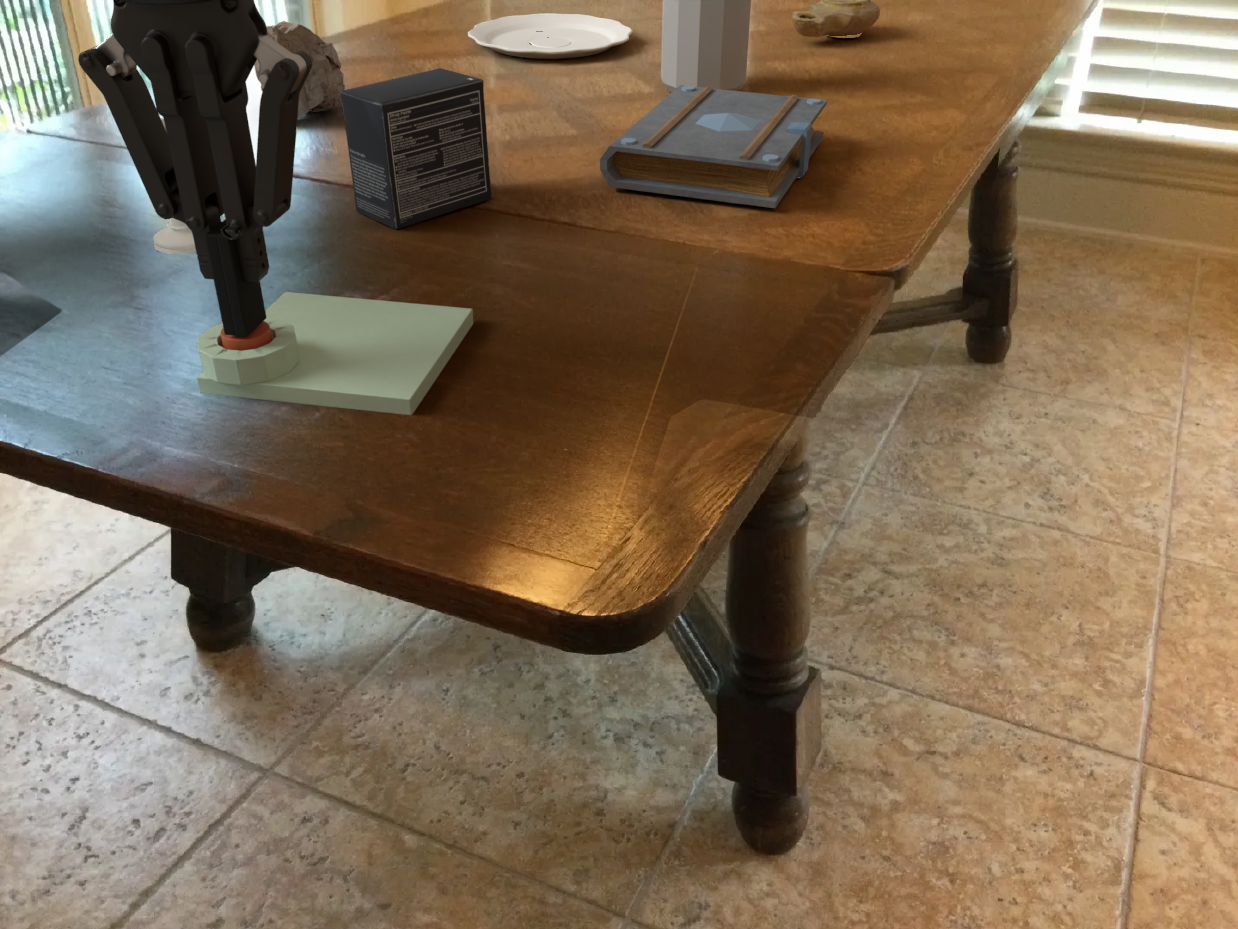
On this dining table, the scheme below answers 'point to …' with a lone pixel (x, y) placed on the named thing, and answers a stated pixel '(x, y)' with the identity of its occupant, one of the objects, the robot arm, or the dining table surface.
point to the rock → (325, 70)
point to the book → (717, 146)
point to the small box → (417, 146)
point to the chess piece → (174, 236)
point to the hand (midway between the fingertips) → (245, 325)
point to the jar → (705, 43)
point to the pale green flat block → (339, 353)
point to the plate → (550, 35)
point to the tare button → (248, 339)
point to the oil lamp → (836, 18)
